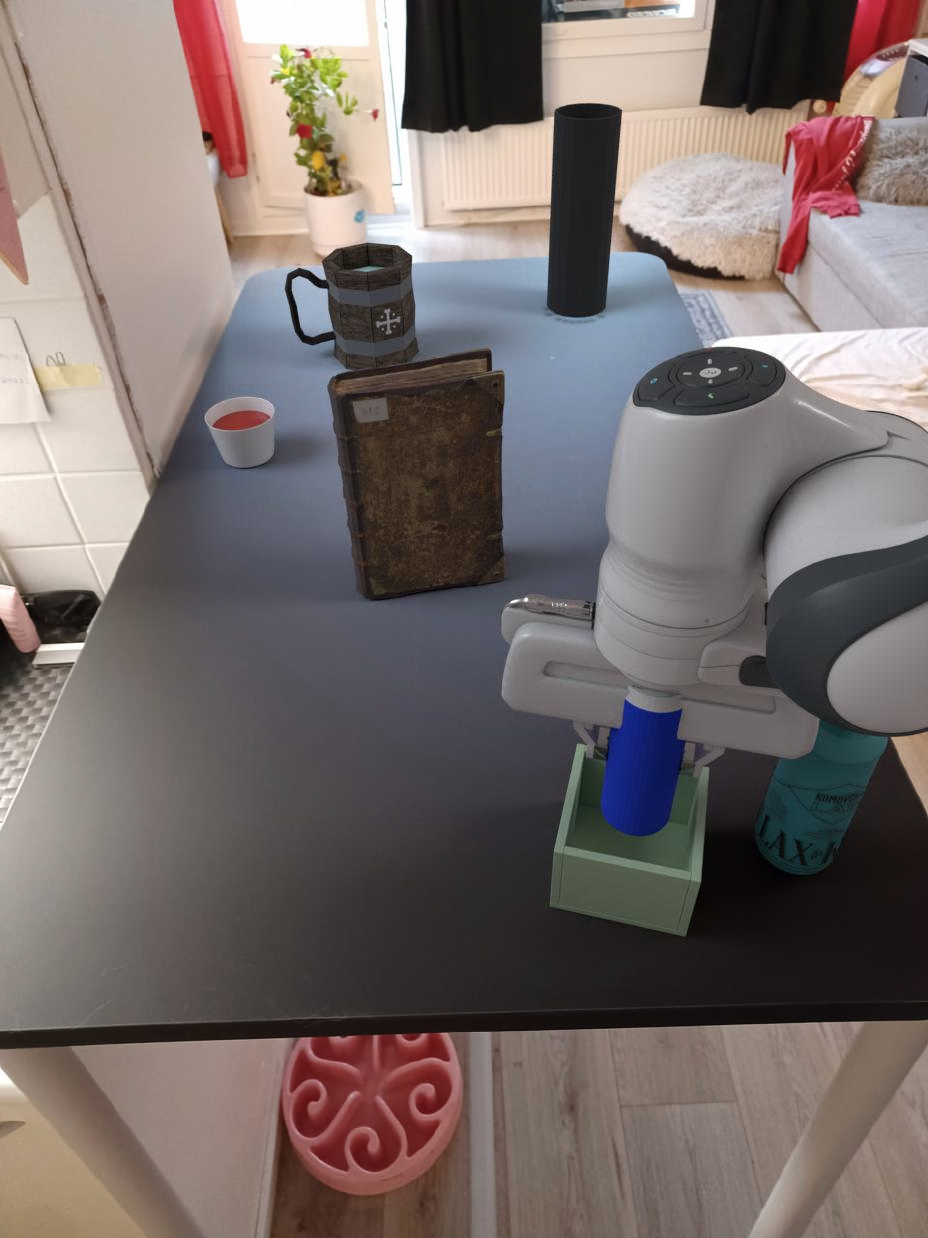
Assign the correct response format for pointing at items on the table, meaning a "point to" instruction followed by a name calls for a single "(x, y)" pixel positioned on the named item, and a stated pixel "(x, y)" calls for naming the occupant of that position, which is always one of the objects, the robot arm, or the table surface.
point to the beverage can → (643, 763)
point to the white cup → (243, 430)
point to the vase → (582, 207)
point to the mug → (365, 305)
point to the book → (422, 472)
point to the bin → (628, 855)
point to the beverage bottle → (816, 799)
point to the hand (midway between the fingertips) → (643, 761)
